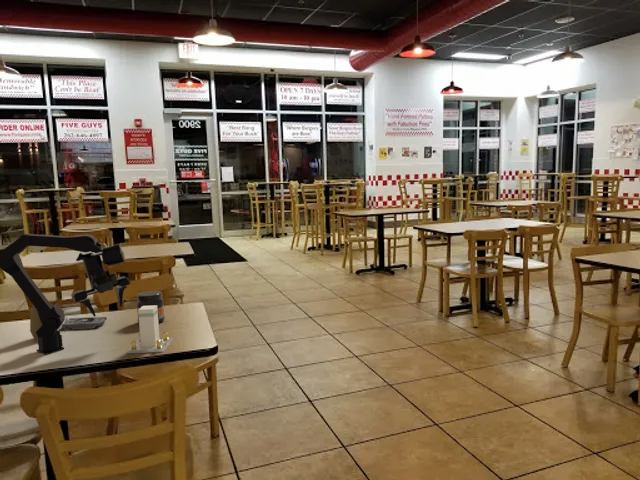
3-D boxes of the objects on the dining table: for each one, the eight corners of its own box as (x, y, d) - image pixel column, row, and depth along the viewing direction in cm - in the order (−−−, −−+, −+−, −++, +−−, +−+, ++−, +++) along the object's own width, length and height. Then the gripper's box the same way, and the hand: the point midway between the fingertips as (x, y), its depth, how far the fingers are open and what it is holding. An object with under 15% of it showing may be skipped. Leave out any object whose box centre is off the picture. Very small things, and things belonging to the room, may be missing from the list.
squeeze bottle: (28, 343, 182) (23, 294, 180) (34, 336, 190) (29, 290, 188) (52, 340, 185) (47, 292, 182) (57, 333, 192) (53, 288, 190)
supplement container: (169, 318, 209) (167, 290, 208) (157, 326, 199) (155, 296, 197) (145, 318, 211) (143, 290, 209) (132, 325, 201) (130, 296, 199)
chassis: (127, 353, 169) (126, 343, 168) (138, 341, 181) (138, 332, 180) (163, 352, 169) (162, 342, 168) (172, 340, 181) (171, 331, 180)
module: (140, 346, 172) (138, 309, 171) (145, 341, 177) (142, 305, 176) (155, 345, 172) (153, 309, 171) (159, 340, 177) (157, 305, 176)
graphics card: (52, 325, 193) (65, 316, 205) (53, 334, 194) (66, 324, 206) (97, 323, 195) (107, 314, 207) (98, 332, 195) (108, 323, 207)
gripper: (71, 280, 163) (86, 324, 166) (128, 262, 174) (141, 304, 176) (65, 277, 172) (78, 320, 174) (119, 261, 183) (131, 301, 185)
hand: (108, 311), depth 177 cm, fingers open, 9 cm apart
